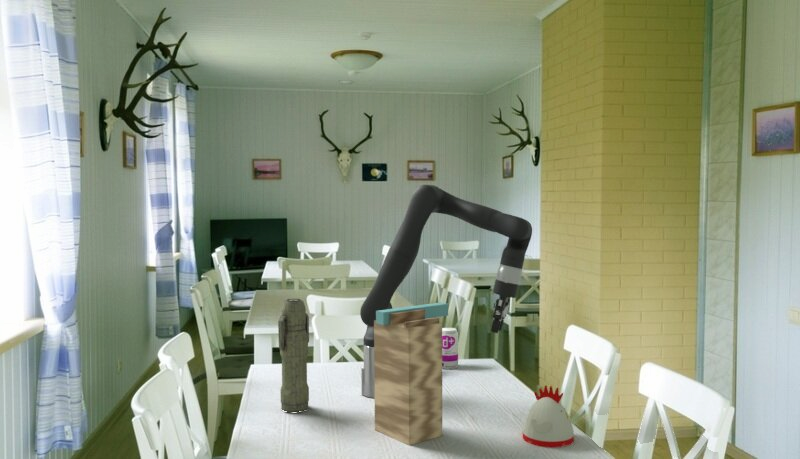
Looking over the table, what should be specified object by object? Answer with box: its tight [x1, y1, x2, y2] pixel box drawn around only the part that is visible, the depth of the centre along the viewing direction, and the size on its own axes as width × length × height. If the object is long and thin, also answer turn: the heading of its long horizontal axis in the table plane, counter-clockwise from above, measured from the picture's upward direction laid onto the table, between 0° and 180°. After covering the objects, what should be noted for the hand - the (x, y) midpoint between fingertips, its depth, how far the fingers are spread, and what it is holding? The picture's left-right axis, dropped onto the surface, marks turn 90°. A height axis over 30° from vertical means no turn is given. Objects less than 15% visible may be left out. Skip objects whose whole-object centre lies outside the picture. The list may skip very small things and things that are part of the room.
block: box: [376, 302, 449, 325], centre depth 208 cm, size 24×4×4 cm, turn 128°
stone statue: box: [277, 298, 310, 413], centre depth 228 cm, size 9×12×35 cm
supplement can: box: [442, 327, 459, 370], centre depth 282 cm, size 8×8×15 cm
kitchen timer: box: [522, 384, 575, 448], centre depth 200 cm, size 14×14×15 cm
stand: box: [374, 309, 443, 446], centre depth 205 cm, size 12×16×35 cm
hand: (496, 331), depth 224 cm, fingers open, 8 cm apart
